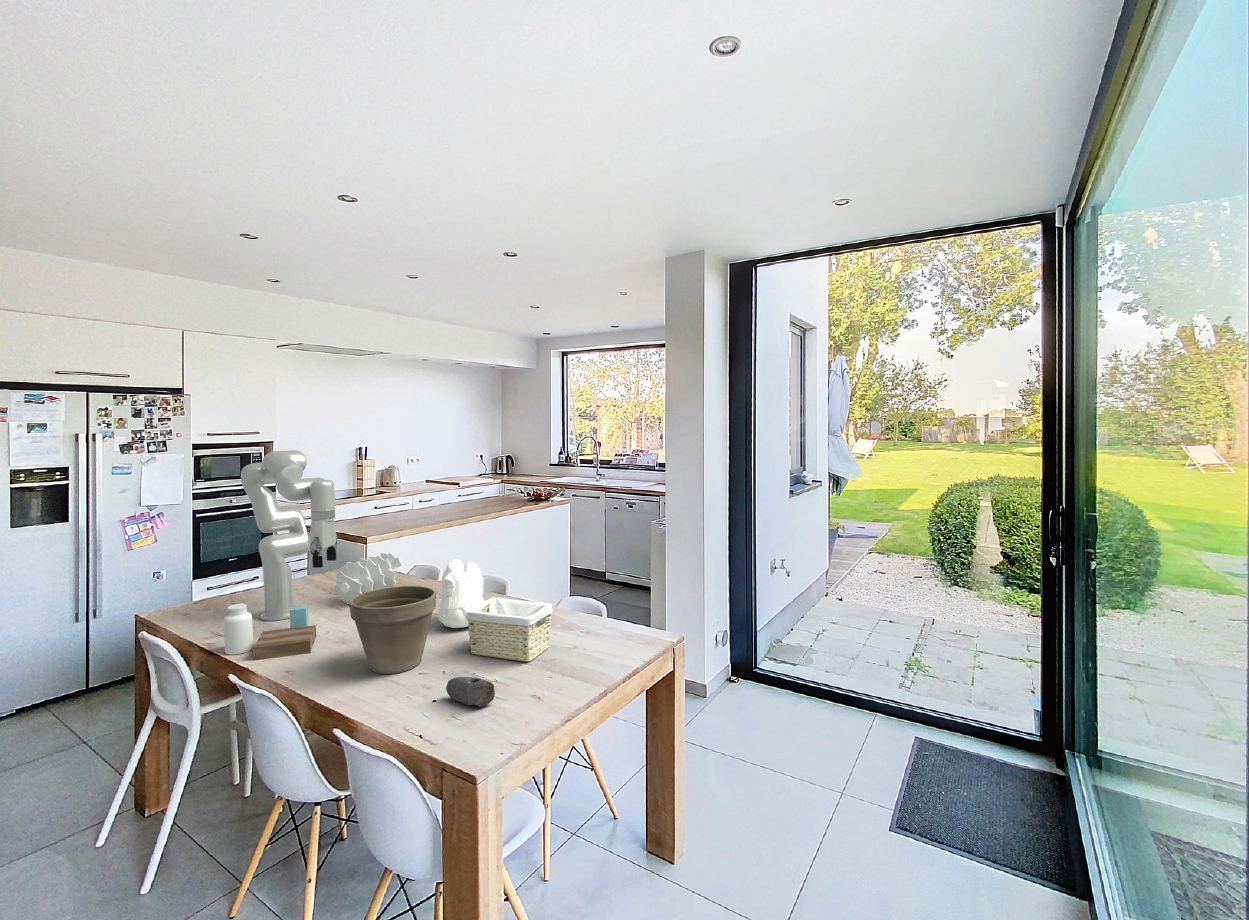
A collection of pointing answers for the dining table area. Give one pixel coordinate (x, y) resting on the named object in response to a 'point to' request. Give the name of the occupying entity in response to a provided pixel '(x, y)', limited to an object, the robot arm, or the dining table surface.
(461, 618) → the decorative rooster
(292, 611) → the teal carton
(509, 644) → the storage basket
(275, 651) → the wavy brown panel
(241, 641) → the pill bottle
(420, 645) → the plant pot
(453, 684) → the perforated stone tool
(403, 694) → the dining table surface
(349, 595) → the spiral staircase
